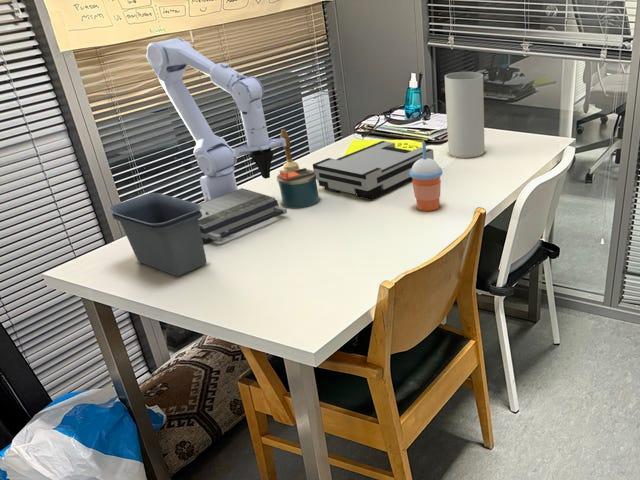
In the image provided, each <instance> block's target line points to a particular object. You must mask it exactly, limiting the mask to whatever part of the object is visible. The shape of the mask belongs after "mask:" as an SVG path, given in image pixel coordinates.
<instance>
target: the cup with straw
mask: <svg viewBox="0 0 640 480" xmlns="http://www.w3.org/2000/svg"><path fill="white" fill-rule="evenodd" d="M426 146H427V145H426V142H421V148H423V158H421V159H419V160H417V161H416V162H415V163H414V164H413V166H412V168H411V169H410V171H409V174H410V176H411V177H412V179H413V181H411V183H412V189H413V194H414V198H415V202H416V207H417V209H418V210H419V211H424V212H432V211H435V210H438V209H439V208H440V197H441V188H442V187H441V186H442V185H441V183H442V180H441V177H442V175H443V168H441V166H440V165H439V163H438V162H437V161H436V160H435V159H434V160H433V159H430V158H426V148H427V147H426Z"/></svg>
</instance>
